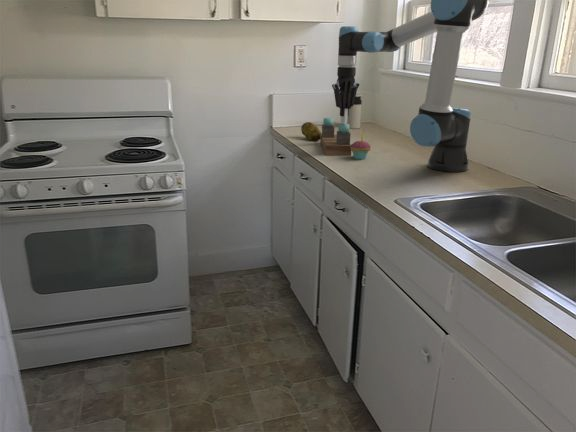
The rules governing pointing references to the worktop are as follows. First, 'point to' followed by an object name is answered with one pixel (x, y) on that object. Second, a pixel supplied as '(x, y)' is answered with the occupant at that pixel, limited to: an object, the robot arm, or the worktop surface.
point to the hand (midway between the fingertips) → (343, 123)
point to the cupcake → (360, 148)
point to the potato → (311, 131)
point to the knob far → (328, 121)
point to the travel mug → (355, 113)
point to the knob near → (343, 128)
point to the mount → (335, 141)
